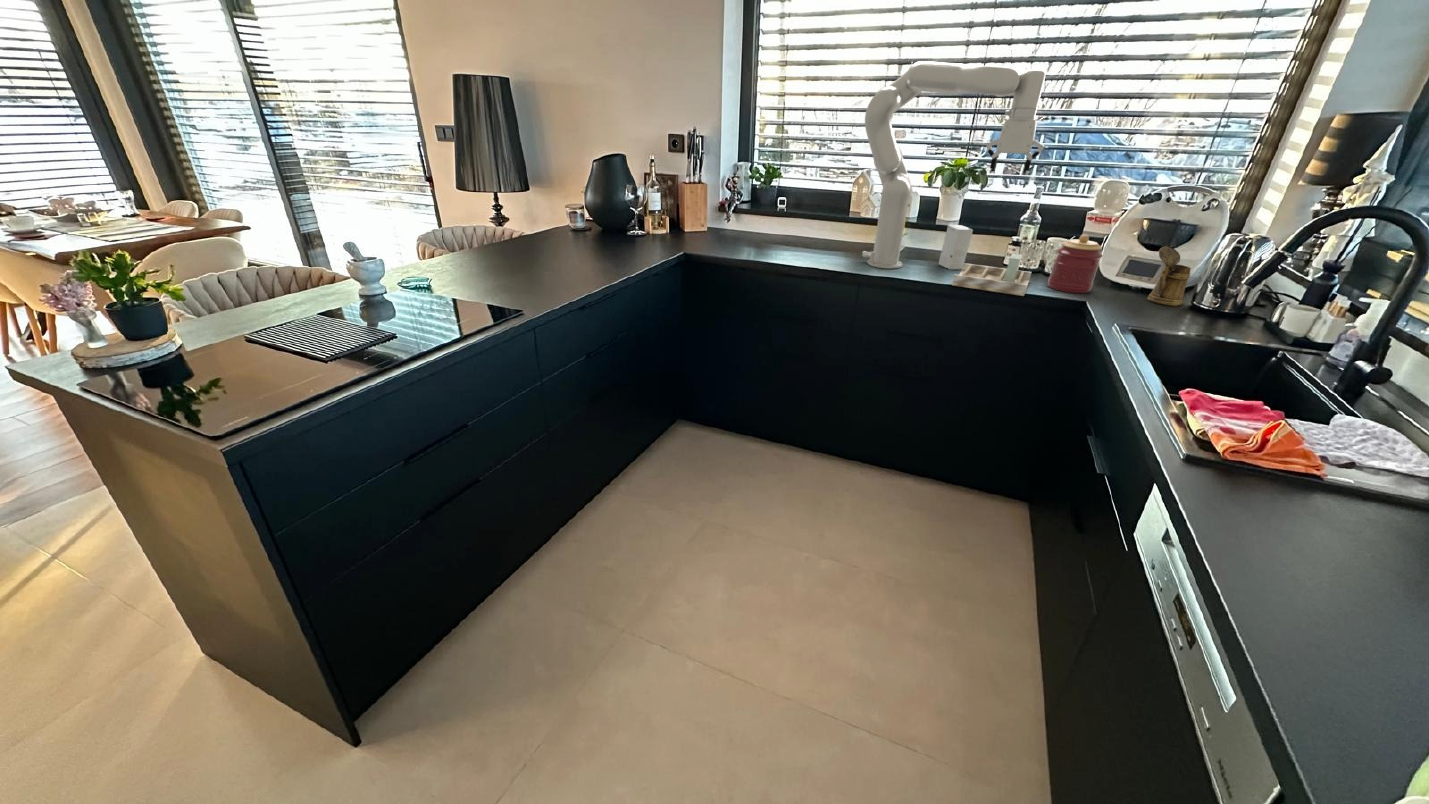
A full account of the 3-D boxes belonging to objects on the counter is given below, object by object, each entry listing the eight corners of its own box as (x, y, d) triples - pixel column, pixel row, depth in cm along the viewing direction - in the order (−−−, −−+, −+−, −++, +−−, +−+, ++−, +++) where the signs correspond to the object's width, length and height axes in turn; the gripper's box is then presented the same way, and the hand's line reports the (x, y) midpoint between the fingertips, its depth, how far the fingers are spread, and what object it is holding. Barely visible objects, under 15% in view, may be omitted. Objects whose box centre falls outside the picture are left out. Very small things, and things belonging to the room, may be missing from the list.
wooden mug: (1130, 300, 175) (1152, 242, 167) (1159, 296, 180) (1182, 239, 171) (1158, 308, 168) (1183, 248, 160) (1188, 304, 172) (1213, 245, 164)
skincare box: (938, 264, 213) (946, 224, 207) (952, 264, 214) (961, 224, 207) (949, 269, 206) (958, 228, 199) (964, 269, 207) (973, 228, 200)
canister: (1049, 281, 195) (1064, 229, 186) (1092, 287, 188) (1110, 234, 180) (1043, 289, 185) (1060, 234, 177) (1088, 296, 179) (1107, 240, 170)
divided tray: (951, 285, 187) (953, 274, 186) (961, 272, 203) (964, 263, 201) (1023, 295, 177) (1026, 285, 176) (1028, 282, 193) (1031, 272, 191)
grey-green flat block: (1002, 285, 185) (1009, 258, 180) (1005, 279, 191) (1012, 253, 187) (1012, 286, 183) (1019, 259, 179) (1015, 281, 189) (1022, 254, 185)
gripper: (991, 114, 179) (979, 171, 187) (1052, 115, 171) (1036, 174, 179) (994, 114, 185) (982, 169, 193) (1053, 115, 177) (1038, 173, 185)
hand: (1008, 172), depth 186 cm, fingers open, 9 cm apart
